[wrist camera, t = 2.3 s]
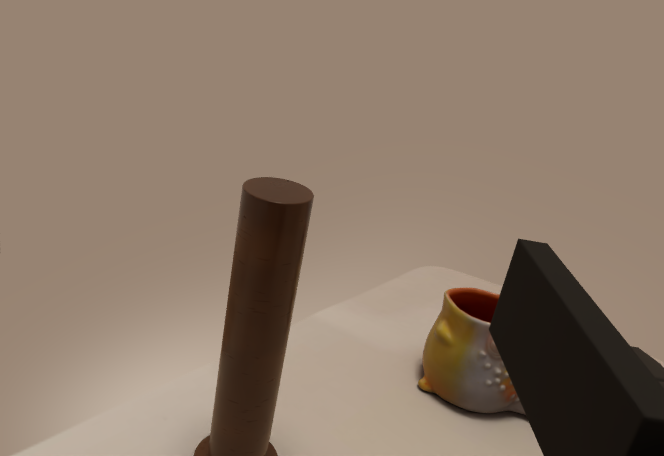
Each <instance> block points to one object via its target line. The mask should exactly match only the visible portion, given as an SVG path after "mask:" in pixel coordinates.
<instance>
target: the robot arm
mask: <svg viewBox="0 0 664 456" xmlns="http://www.w3.org/2000/svg"><path fill="white" fill-rule="evenodd" d="M489 332H490V334H491V336H492V338H493V341H494V343H495V345H496V348H497V350H498V352H499V354H500V357H501V359H502V361H503V364H504V366H505V368H506V370H507V373H508V375H509V377H510V380H511V382H512V384H513V386H514V389H515V391H516V393H517V396H518V398H519V400H520V402H521V405H522V407H523V409H524V411H525V414H526V416H527V418H528V421H529V423H530V425H531V427H532V430H533V432H534V434H535V437H536V439H537V441H538V443H539V446H540V448H541V450H542V453H543V455H544V456H664V368H663V367H662V365H661V364H660V363H658V362H657V361H656V360H654V359H653V358H652V357H650V356H649V355H648V354H646V353H645V352H643V351H642V350H641V349H639V348H637V347H631V346H630V345H629V344H628V343H627V342H626V341H625V339H624V338H623V337H622V336H621V334H620V333H619V332H618V331H617V329H616V328H615V327H614V326H613V325H612V323H611V322H610V321H609V320H608V318H607V317H606V316H605V315H604V313H603V312H602V311H601V310H600V309H599V307H598V306H597V305H596V303H595V302H594V301H593V300H592V298H591V297H590V296H589V295H588V293H587V292H586V291H585V290H584V289H583V287H582V286H581V285H580V284H579V282H578V281H577V280H576V279H575V277H574V276H573V275H572V274H571V272H570V271H569V270H568V269H567V268H566V266H565V265H564V264H563V263H562V261H561V260H560V259H559V258H558V256H557V255H556V254H555V253H554V251H553V250H552V249H551V248H550V246H549V245H548V244H547V243H540V242H534V241H528V240H523V239H518V241H517V244H516V248H515V250H514V254H513V257H512V260H511V263H510V266H509V269H508V272H507V275H506V278H505V281H504V284H503V287H502V290H501V293H500V296H499V299H498V302H497V305H496V308H495V311H494V314H493V318H492V321H491V324H490V327H489Z"/></svg>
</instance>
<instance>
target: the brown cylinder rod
mask: <svg viewBox="0 0 664 456" xmlns="http://www.w3.org/2000/svg"><path fill="white" fill-rule="evenodd" d="M313 198H314V195H313V193H312V191H311V190H310V189H308V188H307V187H305V186H303V185H301V184H299V183H296V182H293V181H289V180H285V179H280V178H271V177H261V178H253V179H250V180H247V181H246V182H244V184H243V187H242V195H241V202H240V211H239V218H238V225H237V233H236V241H235V249H234V257H233V264H232V272H231V279H230V287H229V295H228V302H227V310H226V318H225V325H224V333H223V341H222V349H221V356H220V364H219V371H218V379H217V387H216V394H215V402H214V410H213V417H212V425H211V433H210V435H209V436H207V437H206V438H205V439H203V440H202V441H201V443H200V444H199V445H198V447H197V448H196V450H195V453H194V456H277V453H276V450H275V449H274V447H273V445H272V444H271V443H270V442H269V440H270V434H271V429H272V423H273V418H274V412H275V407H276V401H277V396H278V390H279V385H280V379H281V374H282V368H283V363H284V357H285V352H286V346H287V341H288V335H289V330H290V324H291V319H292V313H293V308H294V302H295V297H296V291H297V286H298V280H299V275H300V269H301V264H302V258H303V253H304V247H305V242H306V237H307V231H308V226H309V220H310V215H311V209H312V203H313Z"/></svg>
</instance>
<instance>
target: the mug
mask: <svg viewBox="0 0 664 456" xmlns="http://www.w3.org/2000/svg"><path fill="white" fill-rule="evenodd" d="M499 296H500V295H499V294H495V293H492V292H488V291H484V290H480V289H476V288H453V289H449V290H447V291H446V292H445V293H444V300H443V306H442V310H441V312H440V314H439V316H438V318H437V320H436V321H435V323H434V325H433V327H432V328H431V330H430V332H429V334H428V337H427V340H426V343H425V346H424V351H423V358H422V360H423V370H424V377H423V378H422V379H420V380H419V381H418V385H419V387H420V388H421V389H422V390H424V391H428V392H432V393H436V394H437V395H439V396H440V397H441V398H443V399H444V400H446V401H448V402H450V403H452V404H454V405H456V406H458V407H461V408H463V409H466V410H469V411H474V412H480V413H497V412H503V411H513V412H517V413H520V414H524V415H526V414H525V411H524V409H523V407H522V405H521V402H520V400H519V398H518V396H517V393H516V391H515V389H514V386H513V384H512V382H511V380H510V377H509V375H508V373H507V370H506V368H505V366H504V364H503V361H502V359H501V357H500V354H499V352H498V350H497V348H496V345H495V343H494V341H493V338H492V336H491V334H490V332H489V327H490V324H491V321H492V318H493V314H494V311H495V308H496V305H497V302H498V299H499Z"/></svg>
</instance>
